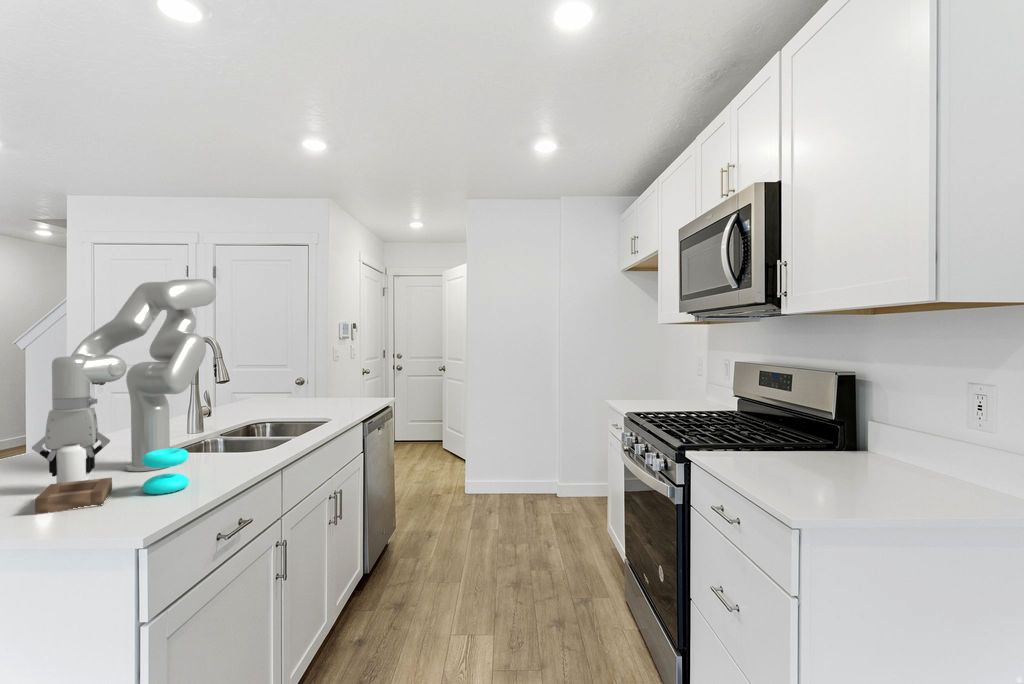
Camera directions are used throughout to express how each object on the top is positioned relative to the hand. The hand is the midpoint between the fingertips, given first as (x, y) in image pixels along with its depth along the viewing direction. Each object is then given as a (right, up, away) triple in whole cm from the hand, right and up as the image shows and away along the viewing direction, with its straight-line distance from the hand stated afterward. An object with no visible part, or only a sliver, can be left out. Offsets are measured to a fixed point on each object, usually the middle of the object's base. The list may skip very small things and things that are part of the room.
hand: (72, 472), depth 134 cm
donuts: (+24, -5, 0) cm, 25 cm away
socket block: (+9, -5, -10) cm, 14 cm away
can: (0, -4, 0) cm, 4 cm away
